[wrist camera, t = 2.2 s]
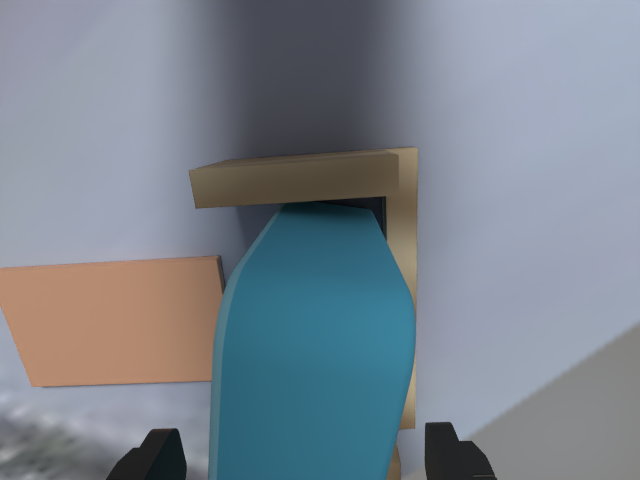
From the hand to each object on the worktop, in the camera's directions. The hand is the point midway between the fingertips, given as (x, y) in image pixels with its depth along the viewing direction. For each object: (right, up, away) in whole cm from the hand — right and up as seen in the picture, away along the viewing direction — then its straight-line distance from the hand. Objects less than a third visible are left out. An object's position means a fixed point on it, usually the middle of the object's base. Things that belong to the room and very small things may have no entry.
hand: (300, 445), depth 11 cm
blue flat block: (0, +3, +9) cm, 10 cm away
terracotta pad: (-11, +2, +10) cm, 15 cm away
